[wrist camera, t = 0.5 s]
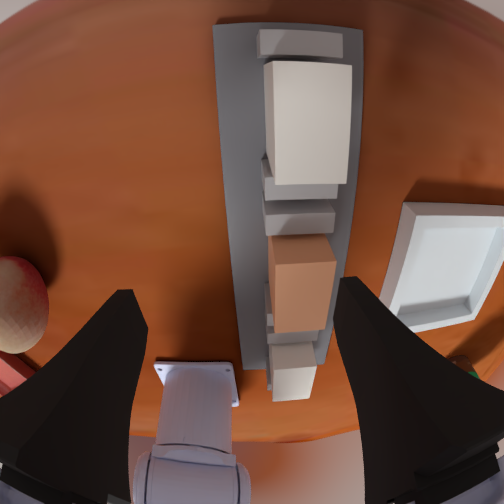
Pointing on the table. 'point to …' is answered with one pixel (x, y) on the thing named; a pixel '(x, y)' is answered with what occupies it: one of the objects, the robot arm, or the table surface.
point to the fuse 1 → (307, 121)
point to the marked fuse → (300, 281)
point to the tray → (443, 263)
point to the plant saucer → (12, 372)
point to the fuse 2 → (292, 370)
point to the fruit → (21, 305)
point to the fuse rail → (261, 179)
